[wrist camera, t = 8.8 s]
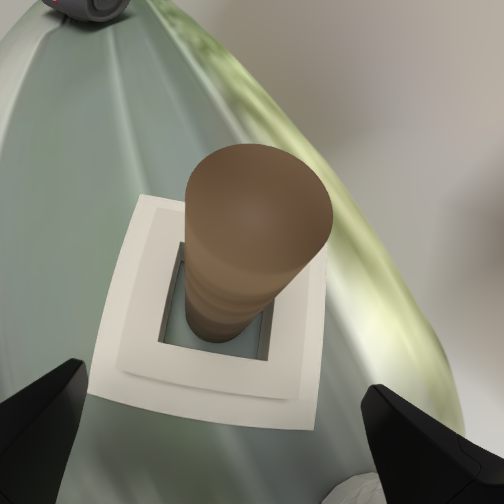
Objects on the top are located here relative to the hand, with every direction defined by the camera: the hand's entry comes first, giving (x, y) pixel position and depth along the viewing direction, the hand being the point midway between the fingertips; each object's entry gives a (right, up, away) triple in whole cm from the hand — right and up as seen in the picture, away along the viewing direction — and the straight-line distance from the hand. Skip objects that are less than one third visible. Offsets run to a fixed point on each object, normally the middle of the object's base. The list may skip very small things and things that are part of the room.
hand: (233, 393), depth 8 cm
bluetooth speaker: (-29, +45, +26) cm, 60 cm away
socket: (-2, 0, +11) cm, 11 cm away
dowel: (-2, 0, +11) cm, 11 cm away
